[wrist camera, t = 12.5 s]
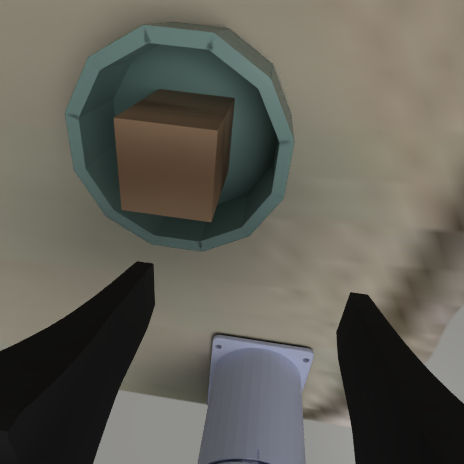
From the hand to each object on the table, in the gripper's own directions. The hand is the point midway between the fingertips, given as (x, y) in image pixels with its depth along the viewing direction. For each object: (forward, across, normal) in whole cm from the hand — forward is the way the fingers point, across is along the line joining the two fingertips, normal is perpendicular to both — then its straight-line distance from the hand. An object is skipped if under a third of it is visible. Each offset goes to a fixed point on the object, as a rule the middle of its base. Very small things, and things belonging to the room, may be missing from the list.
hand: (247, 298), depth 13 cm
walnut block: (+9, +4, -3) cm, 11 cm away
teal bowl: (+10, +4, -3) cm, 11 cm away
